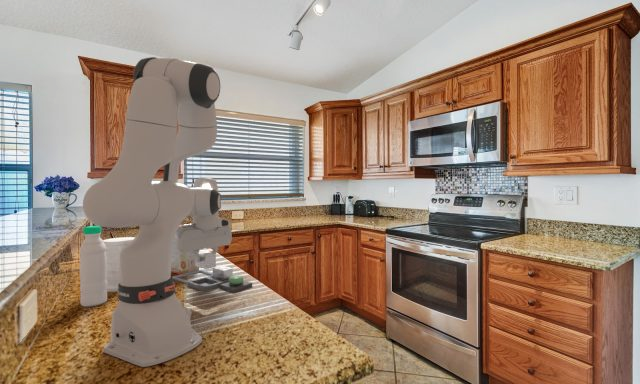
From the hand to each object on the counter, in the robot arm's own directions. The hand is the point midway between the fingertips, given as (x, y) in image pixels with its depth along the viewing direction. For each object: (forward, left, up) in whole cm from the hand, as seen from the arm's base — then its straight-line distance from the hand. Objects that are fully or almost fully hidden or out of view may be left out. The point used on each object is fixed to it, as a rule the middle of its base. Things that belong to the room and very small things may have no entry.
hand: (205, 260), depth 114 cm
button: (-10, -5, -10) cm, 15 cm away
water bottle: (+17, +30, -11) cm, 36 cm away
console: (-10, -5, -11) cm, 16 cm away
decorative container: (+29, +18, -11) cm, 36 cm away
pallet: (0, -4, -11) cm, 11 cm away
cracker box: (+27, -6, -11) cm, 30 cm away
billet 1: (0, 0, -2) cm, 2 cm away
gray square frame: (+13, -3, -11) cm, 17 cm away
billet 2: (0, -7, -9) cm, 12 cm away
